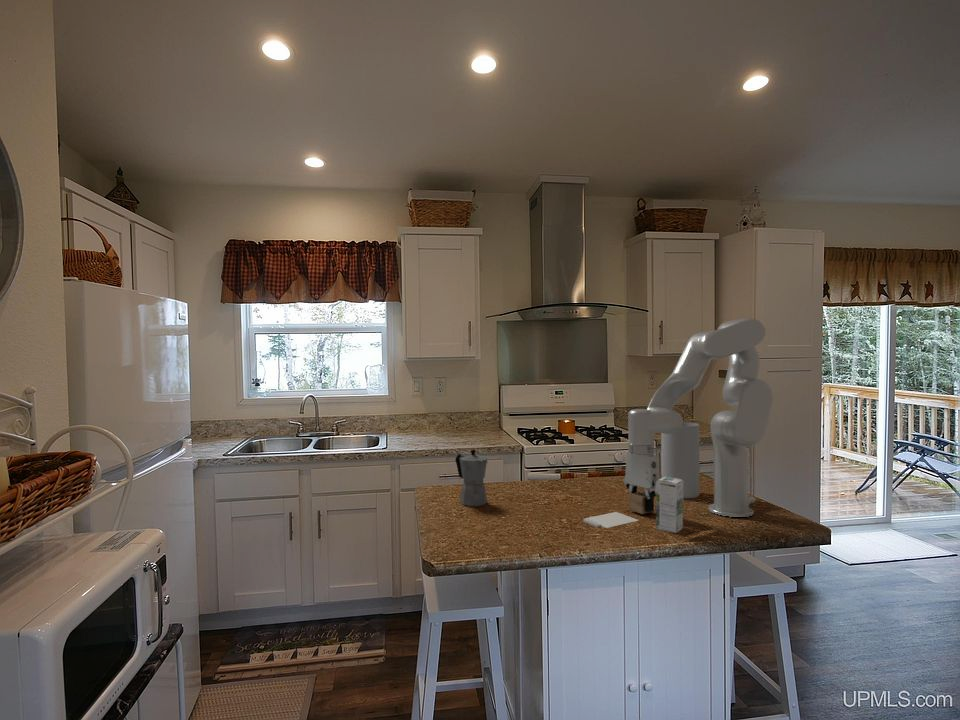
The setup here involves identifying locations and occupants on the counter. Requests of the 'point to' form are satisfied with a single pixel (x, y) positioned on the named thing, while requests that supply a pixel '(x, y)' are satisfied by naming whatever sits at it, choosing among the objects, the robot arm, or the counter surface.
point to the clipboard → (609, 520)
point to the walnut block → (638, 502)
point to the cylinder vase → (682, 458)
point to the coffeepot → (472, 478)
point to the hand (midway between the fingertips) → (641, 508)
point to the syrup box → (669, 504)
